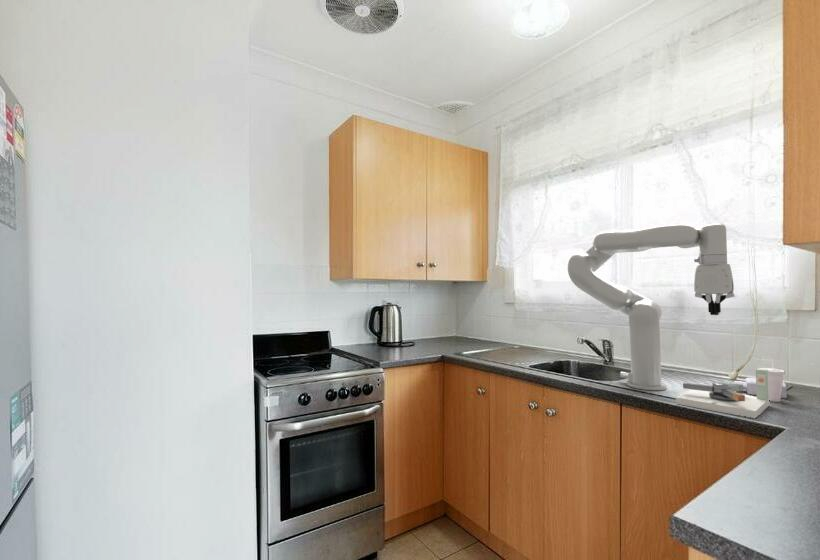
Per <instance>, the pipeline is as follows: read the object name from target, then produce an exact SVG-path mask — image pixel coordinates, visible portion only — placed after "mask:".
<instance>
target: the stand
mask: <svg viewBox="0 0 820 560" xmlns="http://www.w3.org/2000/svg"><path fill="white" fill-rule="evenodd" d="M759 368H760V367H759ZM759 368H755V378H756V391H757V395H756V396H755V395H748V394H747V395H746V394H744V395H745V401H726V400H719V399H714V398H711V397H710V396H709V393H710V392H709V391H701V390H693V389H688V390H687V391H685V392H683V393H681V394H680V395H678V396H676V397H675V404H676V405H681V406H682V405H683V406H687V407H693V408H697V409H702V410H707V411H714V412H718V413H724V414H729V415H735V416H739V415H740V416H739V417H744V416H746V417H745V418H750V417H751V418H752V419H755V418H756V417H757V416H758V415H759V416H760V415H761V414H762V413H763V412H764V411H765V410H766V409H767V408H768V407H770V401H769V391H768V369H759ZM759 416H758V417H759ZM758 417H757V418H758Z"/></svg>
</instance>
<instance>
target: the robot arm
mask: <svg viewBox="0 0 820 560" xmlns="http://www.w3.org/2000/svg"><path fill="white" fill-rule="evenodd" d="M727 244H728V243H727V227H726V225H725V224H722V223H710V224H704V225H701V226H699V227H694V226H693V225H691V224H687V223H686V224H684V223H682V224H680V223H679V224H670V225H669V224H668V225H660V226H659V225H658V226H652V227H643V228H635V229H624V230H611V231H610V230H609V231H603V232H599V233H598V234H596V235H595V236H594V237H593V241H592V246H591V247H590V248H589V249H587V251H585V252H578V253H575V254H573V255H572V256H571V257H570V258H569V259H568V263H567V274H568V277H569V278H570V281H571V282H572V283H573V284H574V285H575V286H576V287H577V289H579V290H580V291H582V292H584V293H585V294H587V295H589V296H590V297H592V298H593V299H596V300H597V301H599V302H600V303H602V305H603V304H604V305H605V306H607V308H610V309H612V310H614V311H619V312H621V313H623V314H625V315H626V316H628V325H629V341H630V343H629V345H630V347H629V348H630V372H625V371H620V373H619V377H620V378H621V379H622V378H623V379H627V381H626V386H628V387H630V388H633V389H638V390H644V391H665V390H666V389H667V384H666V383H663V382H662V366H661V365H662V362H661V359H662V358H661V333H660V332H661V331H660V330H661V329H660V319H661V318H662V317H661V316H662V309H661V308H660V306H659V305H658V304H657V302H655V301H653V300H651V299H649V298H648V297H646V296H644V295H642V294H641V293H638V292H637V291H635V290H633V289H631V288H629V287H627V286H624V285H619V284H616V283H614V282H612V281H610V280H608V279H606V278H604V277H602V276H601V275H599V274H597V273H595V272H596V271H597V270H599V268H600V267H602V266H603V265H605V263H607V262H608V261H609V260H610V259H611V258H612V257H613V256H614V255H615V254H621V253H622V254H623V253H637V252H638V253H639V252H644V251H647V250H650V249H655V248H656V249H657V248H669V247H672V248H673V247H678V248H680V249H690V248H697V247H698V257H695V258H694V260H693V261H694V263H698V265H696V266H695V270H694V271H695V273H694V280H693V281H694V282H693V289H694V293H695V294H694V297H695V298H699V299H703V300H704V301H706V303H707V305H708V306H707V307H708V308H707V309H708V313H709V314H710V316H719V315H720V313H722V312H721V303H723V301H725V300H726V299H730V298H731V299H732V298H734V297H735V293H734V278H733V273H732V268H731V264H730V263H728V245H727ZM713 295H715V299H714V298H713Z"/></svg>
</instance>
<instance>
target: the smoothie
mask: <svg viewBox="0 0 820 560" xmlns="http://www.w3.org/2000/svg"><path fill="white" fill-rule="evenodd" d="M759 369H768V391H769V400H770V401H769V402H777V403H778V402H779V403H780V402H781V399H782V398H781V392H782V384H783V382H784V375H786V371H785V370H783V369H780V368H779V369H778V368H775V356H774V355H773V356H771V367H761V368H760V367H759Z"/></svg>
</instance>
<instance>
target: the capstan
mask: <svg viewBox="0 0 820 560" xmlns="http://www.w3.org/2000/svg"><path fill="white" fill-rule="evenodd" d="M682 387H683V388H682V389H686V390H691V389H693V390H701V391H709V392H710V393H709V396H710V397H711V398H714V399H719V400H726V401H745V395H746V394H742V393H741V392H740V393H739V392H738V391H743V390H744V389H743V385H741V384H732V385H729V384H727V383H724V382H714V381H713V382H712V385H711V384H710V385H709V384H699V383H692V382H682Z"/></svg>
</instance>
